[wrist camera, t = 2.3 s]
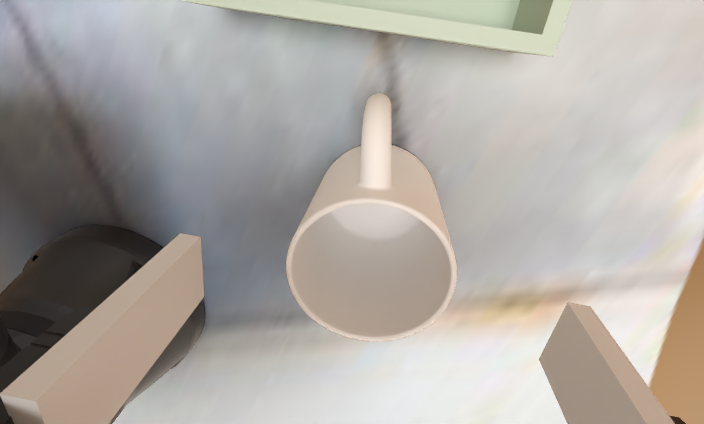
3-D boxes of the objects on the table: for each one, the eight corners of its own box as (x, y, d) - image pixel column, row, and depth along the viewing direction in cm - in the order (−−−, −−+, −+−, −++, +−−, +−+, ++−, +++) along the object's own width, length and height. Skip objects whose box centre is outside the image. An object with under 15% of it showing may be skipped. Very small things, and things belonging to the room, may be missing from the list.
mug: (320, 80, 24) (273, 106, 14) (449, 84, 23) (487, 115, 14) (323, 240, 29) (289, 334, 20) (428, 247, 28) (445, 349, 19)
